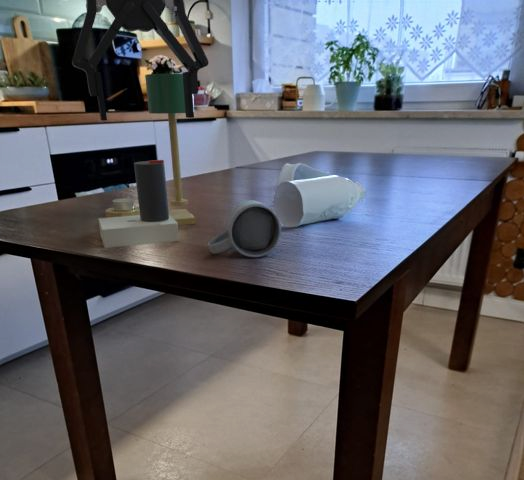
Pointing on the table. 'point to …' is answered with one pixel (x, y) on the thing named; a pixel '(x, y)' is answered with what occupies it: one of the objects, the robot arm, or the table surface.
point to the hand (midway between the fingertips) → (148, 119)
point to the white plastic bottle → (316, 199)
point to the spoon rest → (298, 173)
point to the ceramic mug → (249, 230)
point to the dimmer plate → (136, 231)
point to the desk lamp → (169, 117)
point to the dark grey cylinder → (151, 190)
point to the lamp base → (183, 220)
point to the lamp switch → (123, 205)
